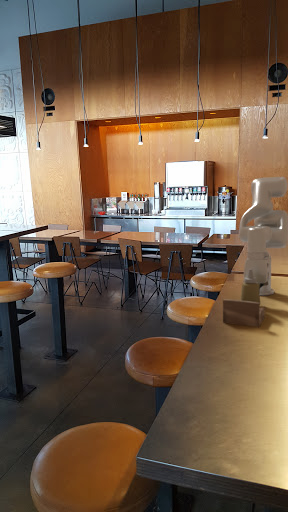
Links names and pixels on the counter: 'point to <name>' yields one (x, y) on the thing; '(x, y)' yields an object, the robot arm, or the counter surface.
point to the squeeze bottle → (250, 289)
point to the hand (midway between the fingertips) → (255, 297)
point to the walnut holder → (243, 312)
